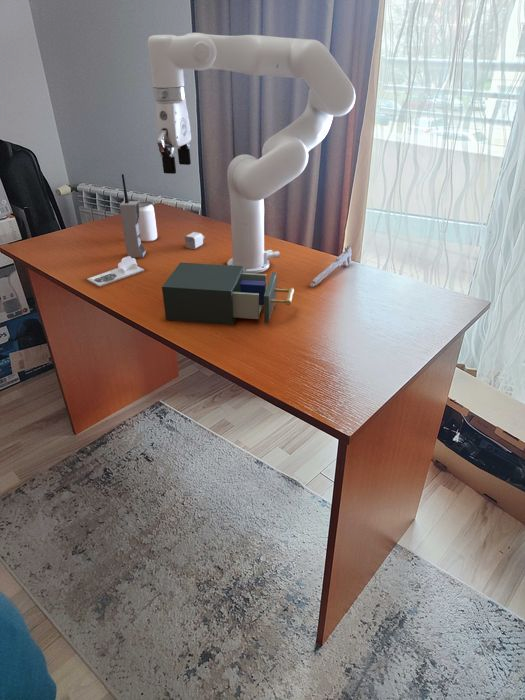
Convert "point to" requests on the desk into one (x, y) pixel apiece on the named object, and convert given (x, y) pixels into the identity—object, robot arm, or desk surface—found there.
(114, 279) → the car cutout
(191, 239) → the usb wall charger
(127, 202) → the vintage mobile phone
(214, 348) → the desk surface
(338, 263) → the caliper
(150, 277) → the desk surface
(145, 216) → the can
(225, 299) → the cabinet
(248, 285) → the card deck
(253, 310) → the drawer
